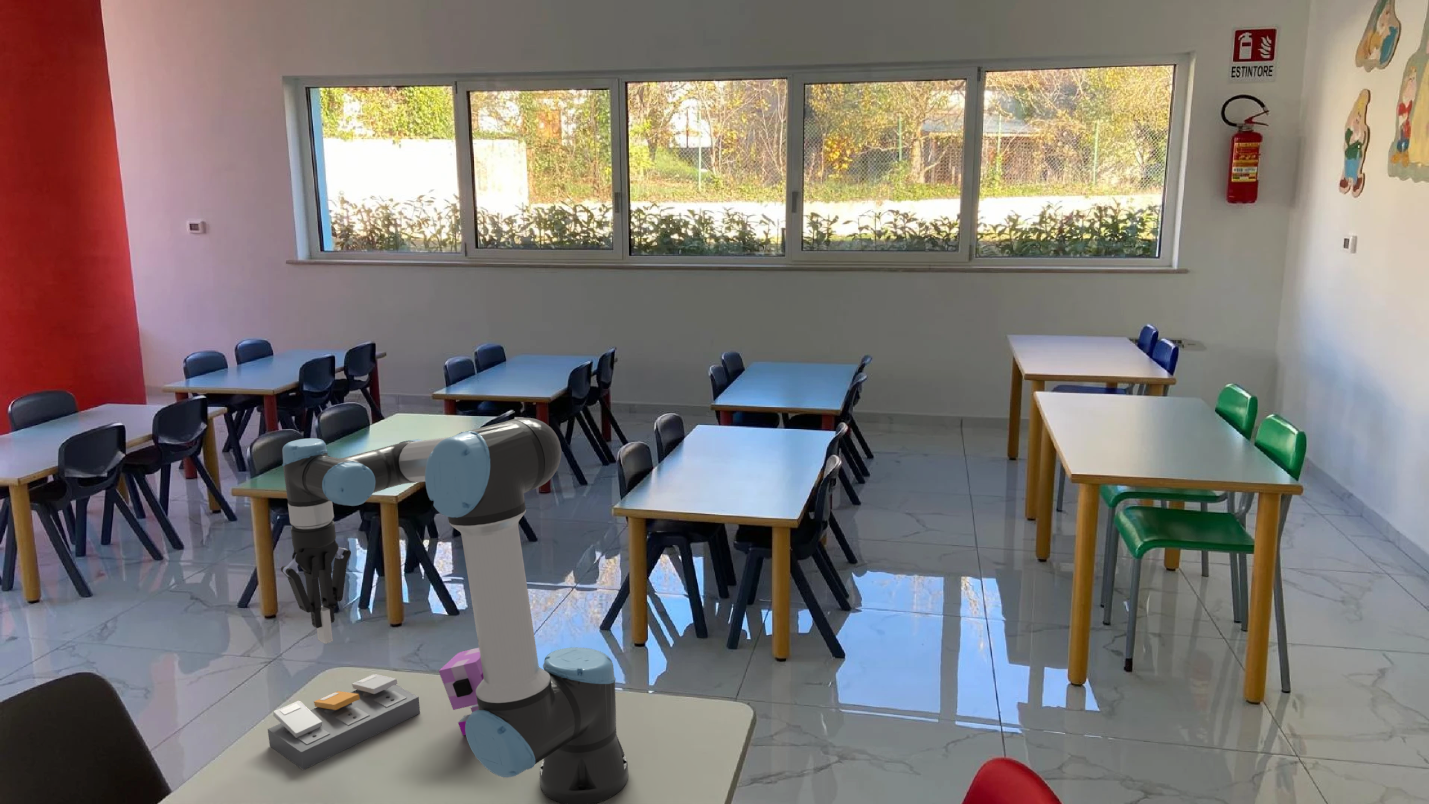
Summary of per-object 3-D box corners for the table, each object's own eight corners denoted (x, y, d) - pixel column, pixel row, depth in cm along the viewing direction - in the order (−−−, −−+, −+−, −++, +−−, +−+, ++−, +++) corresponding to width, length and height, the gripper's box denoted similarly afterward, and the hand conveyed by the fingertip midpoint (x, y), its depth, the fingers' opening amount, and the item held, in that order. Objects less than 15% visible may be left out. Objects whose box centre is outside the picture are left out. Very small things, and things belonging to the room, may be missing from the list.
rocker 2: (359, 699, 186) (358, 693, 186) (335, 709, 182) (334, 704, 182) (339, 696, 191) (337, 690, 191) (314, 706, 187) (313, 701, 187)
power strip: (420, 713, 191) (418, 693, 190) (303, 769, 173) (300, 748, 172) (385, 693, 198) (383, 674, 198) (269, 746, 180) (267, 725, 179)
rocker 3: (397, 683, 192) (396, 678, 192) (374, 694, 188) (373, 688, 188) (375, 678, 197) (374, 673, 197) (352, 688, 193) (351, 683, 193)
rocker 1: (322, 726, 180) (322, 721, 179) (296, 737, 176) (296, 732, 176) (299, 704, 184) (299, 699, 184) (273, 715, 181) (273, 710, 180)
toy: (500, 739, 180) (472, 665, 178) (462, 747, 182) (435, 674, 180) (523, 711, 190) (497, 640, 188) (487, 719, 192) (461, 649, 190)
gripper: (334, 509, 188) (346, 623, 193) (267, 528, 178) (282, 647, 183) (355, 517, 183) (367, 633, 188) (288, 536, 173) (303, 659, 178)
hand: (325, 640), depth 186 cm, fingers closed
